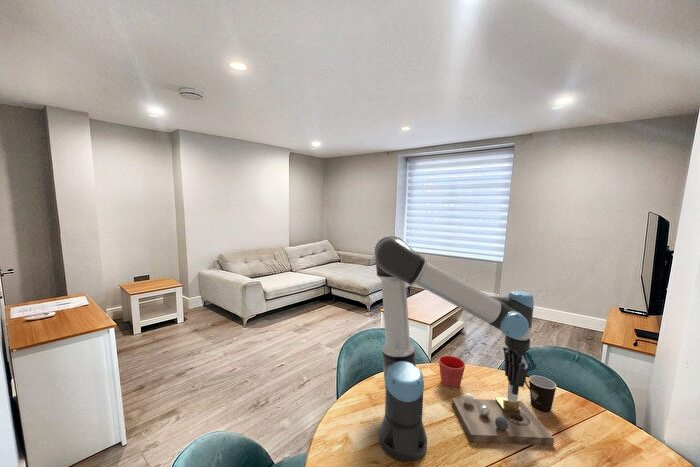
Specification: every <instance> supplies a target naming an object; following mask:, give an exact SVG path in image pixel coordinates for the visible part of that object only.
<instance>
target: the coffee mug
mask: <svg viewBox="0 0 700 467" xmlns="http://www.w3.org/2000/svg"><path fill="white" fill-rule="evenodd" d="M527 378H528V382H529V385H528V383H527V380H526V379H527ZM526 379H525V383H524V385H526V387H527V389H528V390H529V396H530V405H531V407H532V409H534V410H536V411H538V412H541V413H545V414H548V413H551V412H552V408H553V402H554V398H555V394H556V391H557V384H556V383H555V381H553V380H551V379H549V378H547V377H545V376H542V375H535V374H534V375H528V374H527V376H526Z"/></svg>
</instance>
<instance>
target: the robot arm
mask: <svg viewBox="0 0 700 467" xmlns="http://www.w3.org/2000/svg"><path fill="white" fill-rule="evenodd" d="M374 257H375V268H376V269H375V270H376V276H377V277H378V278H379V279H380V280H381V290H382V291H381V292H382V303H383V304H382V307H383V320H384V321H383V322H384V332H385V333H384V336H385V343H384V344H383V346H382V348H381V352H382V354H381V355H382V363H381V364H382V367H383V368H382V369H383V377H384V378H383V379H384V388H385V391H384V392H385V395H384V396H385V399H384V400H385V401H384V402H385V404H384V416H383V420H382V422H381V424H380V426H379V430H378V443H379V446H380V448H381V449H382V451H383V452H384V453H385V454H387V456H389V457H391V458H393V459H394V460H397V461H401V462H408V463H409V462H416V461H418V460H420V459H422V457H424V456H425V454H426V452H427V449H428V437H427V432H426V430H425V426H424V422H423V409H424V408H423V406H424V389H425V380H424V374H423V373H422V371H421V369H420V368H419V367H418V366H416V353H415V352H416V351H415V347H414V345H413V344H411V343H410V342H411V341H410V340H411V339H410V326H409V311H408V310H409V308H408V295H407V284H408V285H411V286H412V285H417V286H419V287H421V288H422V289H425V290H426V291H428V292H430V293H432V294H434V295H435V296H436V297H437V296H438V297H439V298H441V299H443V300H444V301H447V302H448V303H450V304H452V305H454V306H456V307H458V308H460V309H461V310H463V311H464V312H467V313H469V314H470V315H472V316H473V317H476V318H478V319H479V320H481V321H483V322H484V323H487V324H489V325H490V326H492V327H494V328H496V329H498V330H499V331H501V333H502V334H503V335H505V336H504V344H505V346H506V347H505V346H504V347H503V348H502V350H503V353H504V354H503V355H504V356H503V357H504V376H506V377H507V381H508V385H507V386H508V387H507V395H506V396H507V397H506V398H507V399H508V401H509V402H517V399H518V396H519V389H520V388H524V385H525V379H527V377H526V376H527V375H528V371H529V370H530V368H531V364H530V363H527V361H526V359H527V355H526V352H529V351H530V350H531V349H530V348H531V336H532V335H531V334H532V324H533V316H534V309H535V307H534V306H535V305H534V303H535V302H534V296H533V295H532V294H531V293H529V292H526V291H520V290H511V291H509V293H508V295H507V296H492V295H491V296H490V295H488V294H486V293H484V292H483V291H481V290H479V289H477V288H475V287H473V286H471V285H469V284H468V283H466V282H464V281H463V280H460V279H458V278H457V277H454V276H453V275H452V274H449V273H448V272H446V271H445V270H442V269H440V268H439V267H437V266H435V265H433V264H432V263H430V262H428V260H427V258H426V257H425V256H424V255H421V254H420V253H418V252H417V251H415V250H414V249H413V248H412V247H410V246H409V245H408V244H407V243H406V242H405V241H404V240H403V239H402V238H400V237H398V236H395V235H393V236H391V235H389V236H385V237H382V238H381V239H380V240H378V242H377V243H376V245H375V247H374ZM519 387H520V388H519ZM518 400H519V399H518Z"/></svg>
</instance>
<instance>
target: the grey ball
mask: <svg viewBox="0 0 700 467" xmlns="http://www.w3.org/2000/svg"><path fill="white" fill-rule="evenodd" d="M495 424H496V426H497V428H499V429H500V430H506V429H507V428H508V422H507V420H506V419H505V418H503V417H497V418H496V420H495Z"/></svg>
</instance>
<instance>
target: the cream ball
mask: <svg viewBox="0 0 700 467" xmlns="http://www.w3.org/2000/svg"><path fill="white" fill-rule="evenodd" d="M463 399H464V402H465V403H466V404H468V405H472V404H473V403H474V401H475V400H474V399H475V396H473V394H471V393H469V392H467V393H465V394H464V395H463Z"/></svg>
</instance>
